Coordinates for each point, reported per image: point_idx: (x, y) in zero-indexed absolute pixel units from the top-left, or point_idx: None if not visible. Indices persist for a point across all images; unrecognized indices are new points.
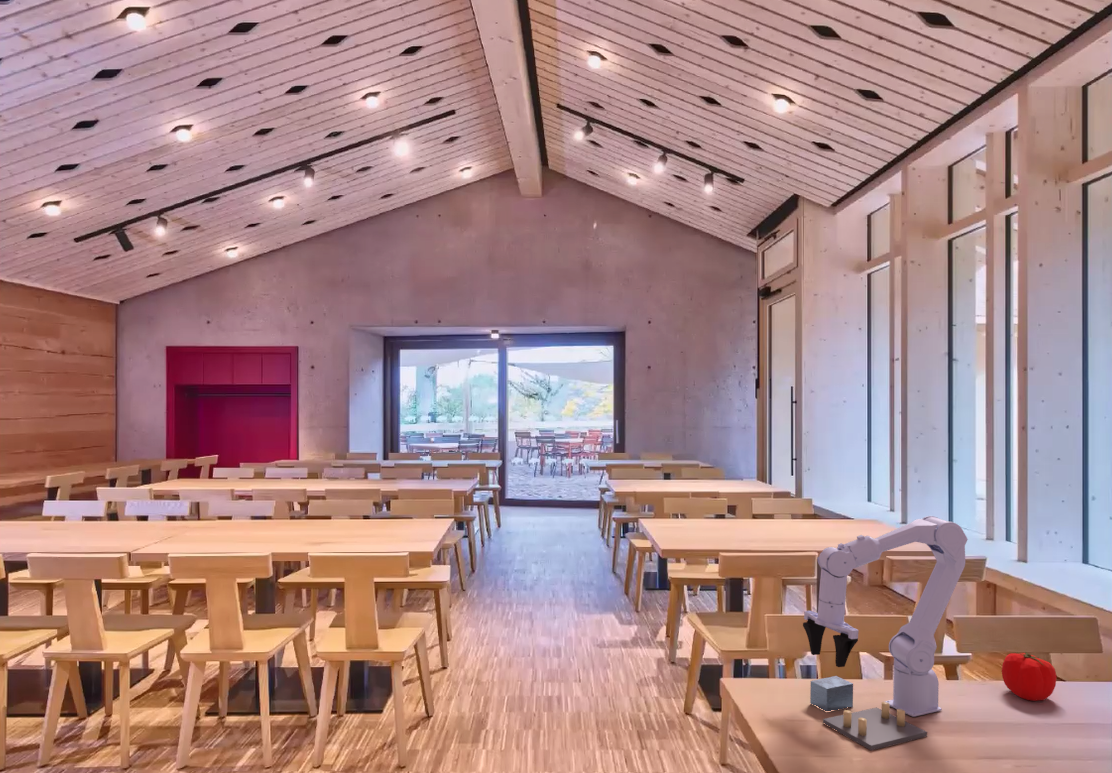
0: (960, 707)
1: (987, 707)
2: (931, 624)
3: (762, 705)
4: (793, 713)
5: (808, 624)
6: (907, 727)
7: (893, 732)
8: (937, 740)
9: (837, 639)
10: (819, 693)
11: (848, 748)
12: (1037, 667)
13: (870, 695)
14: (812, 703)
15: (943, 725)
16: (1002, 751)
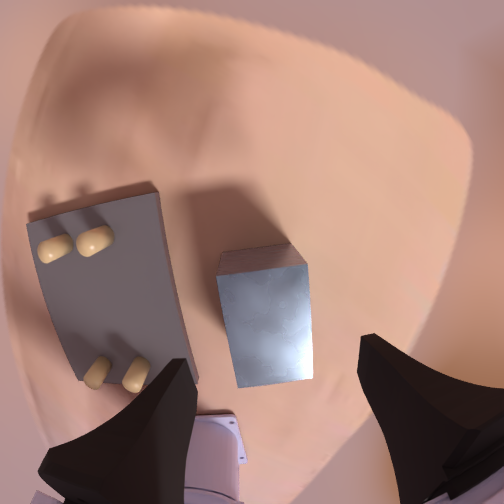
0: None
1: None
2: None
3: (322, 94)
4: (246, 146)
5: (487, 437)
6: (92, 364)
7: (70, 320)
8: (70, 377)
9: (60, 461)
10: (255, 261)
11: (45, 176)
12: None
13: (285, 414)
14: (283, 245)
15: None
16: (52, 417)
